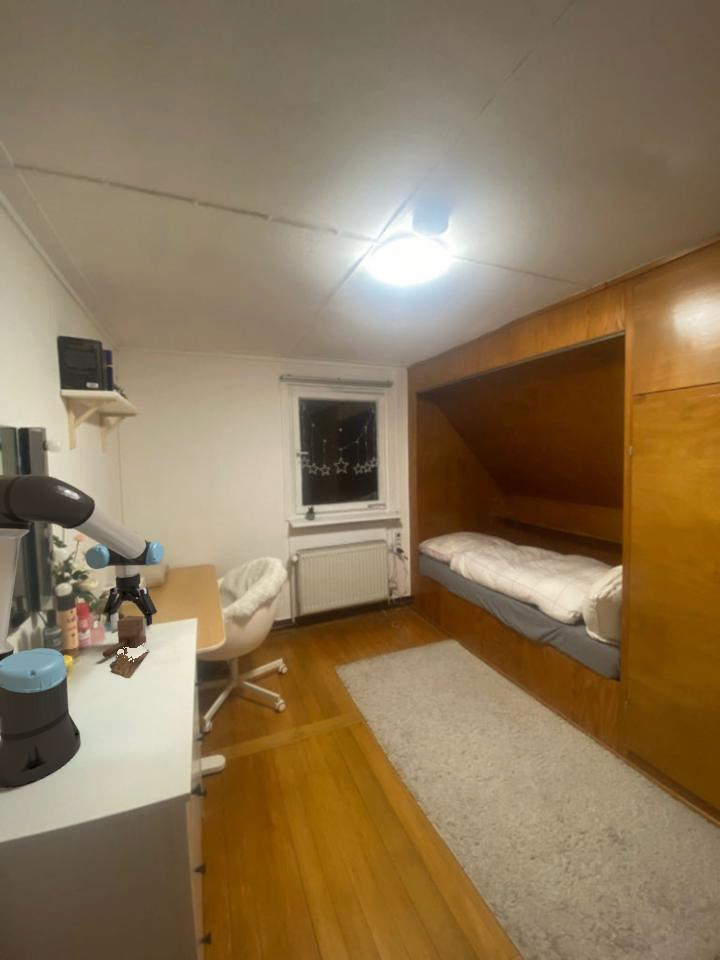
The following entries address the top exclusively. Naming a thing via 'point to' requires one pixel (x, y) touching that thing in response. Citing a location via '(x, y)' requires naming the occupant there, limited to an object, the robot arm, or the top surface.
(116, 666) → the wooden fragment
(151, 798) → the top surface
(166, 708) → the top surface
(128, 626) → the marking gauge
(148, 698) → the top surface
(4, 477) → the robot arm
